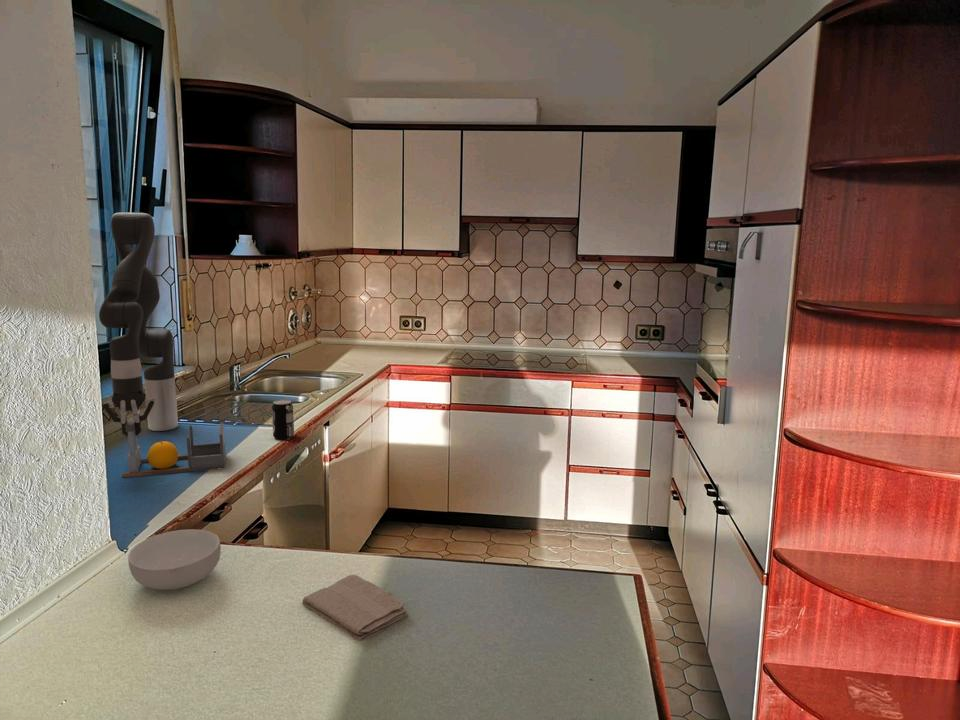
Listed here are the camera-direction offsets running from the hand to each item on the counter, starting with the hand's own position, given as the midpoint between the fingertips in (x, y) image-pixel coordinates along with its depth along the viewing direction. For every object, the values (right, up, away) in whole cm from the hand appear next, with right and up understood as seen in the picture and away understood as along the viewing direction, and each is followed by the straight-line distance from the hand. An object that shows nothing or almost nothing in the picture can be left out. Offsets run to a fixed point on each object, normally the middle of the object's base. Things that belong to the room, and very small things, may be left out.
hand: (132, 435), depth 200 cm
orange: (+7, -10, +4) cm, 13 cm away
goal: (+18, -9, +8) cm, 21 cm away
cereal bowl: (+37, -23, -58) cm, 73 cm away
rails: (+6, -10, +4) cm, 12 cm away
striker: (0, -10, +2) cm, 10 cm away
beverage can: (+33, -4, +32) cm, 47 cm away
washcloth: (+74, -26, -68) cm, 104 cm away
